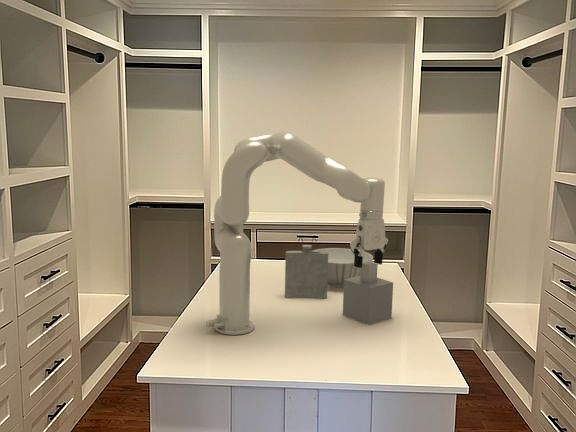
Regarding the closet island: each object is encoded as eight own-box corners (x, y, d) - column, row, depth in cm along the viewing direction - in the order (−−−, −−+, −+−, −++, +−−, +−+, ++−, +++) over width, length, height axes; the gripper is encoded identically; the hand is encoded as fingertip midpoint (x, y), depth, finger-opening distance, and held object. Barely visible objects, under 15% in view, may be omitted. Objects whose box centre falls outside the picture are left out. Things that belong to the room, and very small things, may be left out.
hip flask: (284, 298, 212) (285, 246, 209) (285, 294, 216) (285, 243, 213) (327, 299, 212) (328, 247, 209) (326, 296, 216) (328, 244, 213)
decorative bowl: (354, 297, 215) (356, 266, 213) (294, 285, 228) (295, 256, 226) (381, 281, 237) (383, 253, 235) (325, 271, 251) (326, 245, 249)
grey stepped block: (368, 324, 185) (370, 269, 182) (342, 314, 195) (344, 262, 192) (391, 318, 192) (394, 265, 189) (365, 308, 202) (367, 257, 199)
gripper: (361, 218, 180) (358, 271, 182) (397, 215, 190) (393, 264, 193) (344, 215, 185) (341, 266, 188) (380, 212, 196) (377, 260, 199)
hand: (368, 265), depth 190 cm, fingers open, 9 cm apart
